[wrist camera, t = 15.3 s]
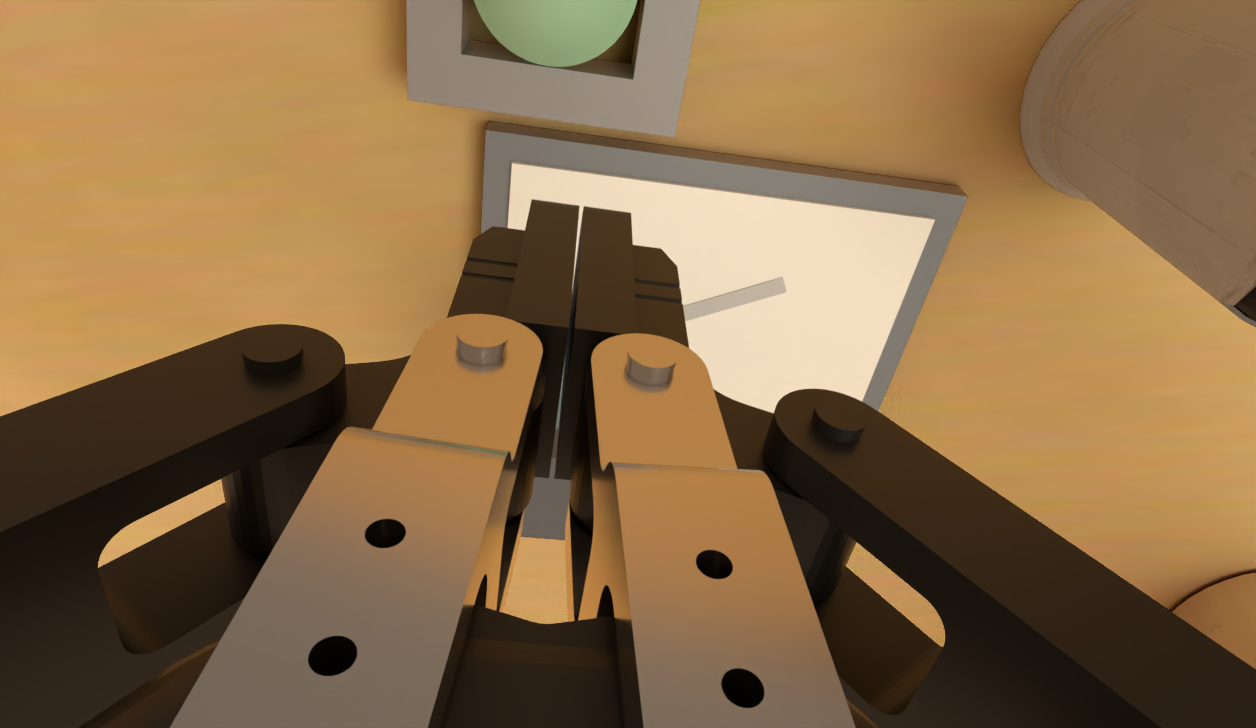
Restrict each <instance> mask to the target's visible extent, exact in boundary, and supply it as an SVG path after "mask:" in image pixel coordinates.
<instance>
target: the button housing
mask: <svg viewBox="0 0 1256 728" xmlns="http://www.w3.org/2000/svg"><path fill="white" fill-rule="evenodd" d="M699 5H700V0H641V2H640V9H639V16H638V23H637V30H636V36H635V43H634V50H633V57H632V64H629V63H622V62H615V61H609V60H602V59H595V58H593V59H591V60H589V61H587V62H584V63H581V64H578V65H573V66H566V67H552V66H544V65H540V64H536V63H533V62H530V61H527V60H525V59H523V58H521V57H519V56H517V55H516V54H514V53H513V52H511V51H510V50H508V49H507V48H506V47H505V46H503V45H501V44H495V43H488V42H481V41H475V40H469V37H470V8H471V0H406V12H407V100H412V101H419V102H426V103H433V104H440V105H447V106H455V107H462V108H469V109H476V110H483V111H490V112H497V113H505V114H512V115H519V116H526V117H533V118H540V119H547V120H554V121H562V122H569V123H576V124H583V125H590V126H597V127H604V128H612V129H619V130H626V131H633V132H640V133H647V134H654V135H662V136H669V137H675V133H676V128H677V123H678V117H679V112H680V107H681V101H682V96H683V91H684V85H685V80H686V74H687V69H688V64H689V58H690V53H691V48H692V42H693V37H694V32H695V26H696V21H697V16H698V10H699Z"/></svg>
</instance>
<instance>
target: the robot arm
mask: <svg viewBox="0 0 1256 728" xmlns="http://www.w3.org/2000/svg"><path fill="white" fill-rule="evenodd" d="M578 218H579V206H578V205H571V204H563V203H556V202H549V201H542V200H534V199H532V200H531V205H530V209H529V214H528V219H527V223H526V228H525V230H518V229H510V228H503V227H495V226H492V227H491V228H489V229H488V230H487V231H485V232H484V233H482V234H481V235H479V236H478V237H476V238H475V239H473V242H472V245H471V248H470V251H469V254H468V257H467V261H466V263H465V266H464V269H463V272H462V276H461V278H460V281H459V284H458V287H457V290H456V293H455V296H454V298H453V301H452V304H451V307H450V310H449V313H448V316H447V318H445V319H443V320H441V321H438V322H436V323H435V324H433V325H431V326H430V327H429V328H428V329H426V330H425V332H424V333H423V334H422V336H421V338H420V339H419V341H418V343H417V345H416V347H415V349H414V351H413V353H412V355H410V356H407V357H403V358H399V359H395V360H390V361H381V362H370V363H357V364H345V354H344V351H343V349H342V347H341V345H340V344H339V343H338V342H337V341H336V340H335V339H334V338H332V337H331V336H329V335H327V334H326V333H324V332H321V331H319V330H316V329H313V328H309V327H305V326H298V325H286V324H276V325H263V326H256V327H252V328H247V329H243V330H240V331H237V332H234V333H231V334H228V335H226V336H223V337H220V338H217V339H215V340H212V341H209V342H206V343H203V344H201V345H198V346H195V347H192V348H190V349H187V350H184V351H181V352H178V353H176V354H173V355H170V356H167V357H165V358H162V359H159V360H156V361H153V362H151V363H148V364H145V365H142V366H140V367H137V368H134V369H131V370H128V371H126V372H123V373H120V374H117V375H115V376H112V377H109V378H106V379H103V380H101V381H98V382H95V383H92V384H90V385H87V386H84V387H81V388H78V389H76V390H73V391H70V392H67V393H65V394H62V395H59V396H56V397H53V398H51V399H48V400H45V401H42V402H40V403H37V404H34V405H31V406H28V407H26V408H23V409H20V410H17V411H15V412H12V413H9V414H6V415H3V416H1V417H0V728H1256V573H1250V574H1245V575H1241V576H1238V577H1234V578H1231V579H1228V580H1225V581H1222V582H1220V583H1217V584H1215V585H1213V586H1210V587H1208V588H1206V589H1204V590H1202V591H1201V592H1199V593H1197V594H1195V595H1193V596H1192V597H1190V598H1189V599H1187V600H1186V601H1185V602H1183V603H1182V604H1181V605H1179V606H1178V607H1177V608H1176V609H1175V610H1174V611H1173V612H1171V611H1170V610H1168V609H1167V608H1165V607H1164V606H1162V605H1161V604H1159V603H1158V602H1156V601H1155V600H1153V599H1152V598H1151V597H1149V596H1148V595H1146V594H1145V593H1143V592H1142V591H1140V590H1139V589H1137V588H1136V587H1134V586H1133V585H1131V584H1130V583H1129V582H1127V581H1126V580H1124V579H1123V578H1121V577H1120V576H1118V575H1117V574H1115V573H1114V572H1112V571H1111V570H1109V569H1108V568H1107V567H1105V566H1104V565H1102V564H1101V563H1099V562H1098V561H1096V560H1095V559H1093V558H1092V557H1090V556H1089V555H1087V554H1086V553H1085V552H1083V551H1082V550H1080V549H1079V548H1077V547H1076V546H1074V545H1073V544H1071V543H1070V542H1068V541H1067V540H1066V539H1064V538H1063V537H1061V536H1060V535H1058V534H1057V533H1055V532H1054V531H1052V530H1051V529H1049V528H1048V527H1046V526H1045V525H1044V524H1042V523H1041V522H1039V521H1038V520H1036V519H1035V518H1033V517H1032V516H1030V515H1029V514H1027V513H1026V512H1024V511H1023V510H1022V509H1020V508H1019V507H1017V506H1016V505H1014V504H1013V503H1011V502H1010V501H1008V500H1007V499H1005V498H1004V497H1003V496H1001V495H1000V494H998V493H997V492H995V491H994V490H992V489H991V488H989V487H988V486H986V485H985V484H983V483H982V482H981V481H979V480H978V479H976V478H975V477H973V476H972V475H970V474H969V473H967V472H966V471H964V470H963V469H961V468H960V467H959V466H957V465H956V464H954V463H953V462H951V461H950V460H948V459H947V458H945V457H944V456H942V455H941V454H940V453H938V452H937V451H935V450H934V449H932V448H931V447H929V446H928V445H926V444H925V443H923V442H922V441H920V440H919V439H918V438H916V437H915V436H913V435H912V434H910V433H909V432H907V431H906V430H904V429H903V428H901V427H900V426H898V425H897V424H896V423H894V422H893V421H891V420H890V419H888V418H887V417H885V416H884V415H882V414H881V413H879V412H878V411H877V410H875V409H874V408H872V407H870V406H869V405H867V404H865V403H864V402H862V401H860V400H858V399H856V398H853V397H851V396H848V395H846V394H842V393H839V392H835V391H830V390H825V389H801V390H796V391H793V392H790V393H788V394H786V395H785V396H783V397H782V398H781V399H780V400H779V401H778V403H777V405H776V408H775V411H774V413H771V412H768V411H765V410H762V409H759V408H755V407H752V406H749V405H746V404H743V403H741V402H738V401H735V400H733V399H731V398H729V397H727V396H724V395H723V394H721V393H719V392H718V391H716V390H714V389H713V386H712V382H711V379H710V376H709V372H708V369H707V367H706V365H705V363H704V362H703V360H702V359H701V358H700V357H699V356H698V355H697V354H696V353H695V352H693V351H692V350H691V349H689V343H688V337H687V330H686V323H685V316H684V309H683V304H682V296H681V289H680V288H679V287H680V282H679V275H678V268H677V266H676V264H675V263H674V262H673V261H672V260H671V259H670V258H669V257H668V256H667V254H666V253H665V252H664V251H663V250H662V249H660V248H653V247H645V246H638V245H633V241H632V220H631V213H629V212H622V211H615V210H608V209H601V208H593V207H586V206H584V207H583V214H582V221H581V228H580V236H579V243H578V251H577V259H576V266H575V274H574V264H575V252H576V241H577V229H578ZM573 275H574V282H573ZM572 286H573V289H572ZM564 361H565V363H564ZM563 368H564V374H563ZM562 376H563V385H562V397H561V408H560V419H559V430H558V441H557V452H556V463H555V475H554V479H563V480H571V485H570V498H569V504H568V511H567V517H566V524H565V548H566V578H567V608H568V622H563V623H556V624H539V623H534V622H530V621H527V620H524V619H521V618H518V617H515V616H511V615H508V614H505V613H503V610H504V606H505V602H506V597H507V593H508V589H509V584H510V580H511V576H512V572H513V567H514V563H515V559H516V554H517V550H518V546H519V541H520V537H521V533H522V529H523V522H524V513H525V508H526V507H527V506H528V504H529V502H530V500H531V496H532V492H533V483H534V477H541V478H549V474H550V467H551V459H552V452H553V444H554V437H555V429H556V421H557V414H558V406H559V399H560V391H561V384H562ZM219 479H221V480H222V486H223V491H224V497H225V503H223V504H221V505H219V506H217V507H215V508H213V509H211V510H209V511H208V512H206V513H204V514H202V515H200V516H198V517H196V518H194V519H192V520H190V521H188V522H186V523H184V524H182V525H180V526H179V527H177V528H175V529H173V530H171V531H169V532H167V533H165V534H163V535H161V536H159V537H157V538H155V539H153V540H151V541H150V542H148V543H146V544H144V545H142V546H140V547H138V548H136V549H134V550H132V551H130V552H128V553H126V554H124V555H122V556H121V557H119V558H117V559H115V560H113V561H111V562H109V563H107V564H105V565H103V566H101V567H99V568H98V561H99V557H100V555H101V553H102V551H103V549H104V547H105V546H106V544H107V543H108V542H109V541H110V540H111V538H112V537H113V536H114V535H116V534H117V533H118V532H119V531H120V530H121V529H123V528H124V527H126V526H127V525H129V524H131V523H132V522H134V521H136V520H138V519H140V518H142V517H144V516H146V515H148V514H150V513H152V512H154V511H156V510H159V509H161V508H163V507H165V506H167V505H169V504H171V503H173V502H175V501H177V500H179V499H181V498H183V497H185V496H187V495H189V494H191V493H193V492H195V491H197V490H199V489H201V488H203V487H205V486H207V485H209V484H211V483H213V482H215V481H217V480H219ZM856 542H857V543H859V544H860V545H861V546H862V547H864V548H865V549H866V550H867V551H868V552H870V553H871V554H872V555H873V556H875V557H876V558H877V559H878V560H879V561H881V562H882V563H883V564H884V565H886V566H887V567H888V568H889V569H890V570H892V571H893V572H894V573H895V574H897V575H898V576H899V577H900V578H901V579H903V580H904V581H905V582H906V583H908V584H909V585H910V586H911V587H912V588H914V589H915V590H916V591H917V592H918V593H920V594H921V595H922V596H923V597H925V598H926V599H927V600H928V601H929V602H930V603H931V604H932V606H933V607H934V608H935V609H936V611H937V612H938V614H939V616H940V618H941V620H942V622H943V625H944V629H945V644H944V646H943V648H942V647H941V646H939V645H938V644H937V643H935V642H934V641H933V640H932V639H931V638H929V637H928V636H927V635H926V634H925V633H923V632H922V631H921V630H920V629H919V628H918V627H916V626H915V625H914V624H913V623H912V622H911V621H909V620H908V619H907V618H906V617H905V616H904V615H902V614H901V613H900V612H899V611H898V610H896V609H895V608H894V607H893V606H892V605H891V604H889V603H888V602H887V601H886V600H885V599H884V598H882V597H881V596H880V595H879V594H878V593H876V592H875V591H874V590H873V589H872V588H871V587H869V586H868V585H867V584H866V583H865V582H864V581H862V580H861V579H860V578H859V577H858V576H857V575H855V574H854V573H853V572H852V571H851V570H849V569H848V568H847V567H846V564H847V562H848V560H849V557H850V555H851V553H852V551H853V549H854V546H855V544H856Z"/></svg>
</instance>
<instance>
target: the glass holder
mask: <svg viewBox="0 0 1256 728" xmlns="http://www.w3.org/2000/svg"><path fill="white" fill-rule="evenodd" d="M1020 134H1021V139H1022V144H1023V149H1024V151H1025V153H1026V156H1027V158H1028V160H1029V162H1030V165H1031V166H1032V167H1033V169H1034V170H1035V171H1036V173H1037V174H1038V175H1039V176H1040V178H1041V179H1043V180H1044V181H1045V182H1046V183H1048V184H1049V185H1050V186H1051V187H1052V188H1054V189H1056V190H1058V191H1060V192H1062V193H1064V194H1066V195H1068V196H1071V197H1075V198H1079V199H1083V200H1087V201H1092V202H1093V203H1094V204H1096V205H1097V206H1098V207H1099V208H1101V209H1102V210H1103V211H1105V212H1106V213H1107V214H1108V215H1110V216H1111V217H1112V218H1113V219H1115V220H1116V221H1117V222H1118V223H1120V224H1121V225H1122V226H1124V227H1125V228H1126V229H1127V230H1129V231H1130V232H1131V233H1132V234H1134V235H1135V236H1136V237H1138V238H1139V239H1140V240H1141V241H1143V242H1144V243H1145V244H1146V245H1148V246H1149V247H1150V248H1151V249H1153V250H1154V251H1155V252H1157V253H1158V254H1159V255H1160V256H1162V257H1163V258H1164V259H1165V260H1167V261H1168V262H1169V263H1170V264H1172V265H1173V266H1174V267H1176V268H1177V269H1178V270H1179V271H1181V272H1182V273H1183V274H1184V275H1186V276H1187V277H1188V278H1190V279H1191V280H1192V281H1193V282H1195V283H1196V284H1197V285H1198V286H1200V287H1201V288H1202V289H1203V290H1205V291H1206V292H1207V293H1209V294H1210V295H1211V296H1212V297H1214V298H1215V299H1216V300H1217V301H1219V302H1220V303H1221V304H1223V305H1224V306H1225V307H1226V308H1228V309H1229V310H1230V311H1231V312H1233V313H1234V314H1235V315H1236V316H1238V317H1239V318H1240V319H1242V320H1243V321H1245V322H1247V323H1248V324H1250V325H1252V326H1254V327H1256V0H1082V1H1080V2H1079V3H1078V4H1077V5H1076V6H1075V7H1074V8H1073V9H1072V10H1071V11H1070V12H1069V14H1068V15H1067V16H1066V17H1065V18H1064V19H1063V20H1062V21H1061V22H1060V23H1059V24H1058V26H1057V27H1056V29H1055V30H1054V31H1053V33H1052V34H1051V36H1050V37H1049V38H1048V40H1047V41H1046V43H1045V44H1044V46H1043V47H1042V49H1041V51H1040V53H1039V55H1038V57H1037V59H1036V61H1035V62H1034V64H1033V66H1032V68H1031V71H1030V74H1029V77H1028V80H1027V82H1026V85H1025V88H1024V92H1023V97H1022V103H1021V108H1020Z"/></svg>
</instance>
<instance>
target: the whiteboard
mask: <svg viewBox="0 0 1256 728" xmlns="http://www.w3.org/2000/svg"><path fill="white" fill-rule="evenodd" d="M967 198H968V196H967V195H966V194H965V192H964V191H963V190H962V189H961V188H960V187H959V186H954V185H946V184H939V183H932V182H925V181H918V180H910V179H903V178H896V177H889V176H882V175H874V174H867V173H860V172H853V171H846V170H838V169H831V168H824V167H817V166H809V165H802V164H795V163H788V162H781V161H773V160H766V159H759V158H752V157H745V156H737V155H730V154H723V153H716V152H709V151H701V150H694V149H687V148H680V147H673V146H665V145H658V144H651V143H644V142H637V141H629V140H622V139H615V138H608V137H601V136H593V135H586V134H579V133H572V132H564V131H557V130H550V129H543V128H536V127H528V126H521V125H514V124H507V123H500V122H492V121H489V123H488V125H487V128H486V136H485V156H484V177H483V198H482V219H481V234H482V233H484V232H485V231H487V230H488V229H489V228H491V227H492V226H495V227H503V228H510V229H518V230H525V228H526V223H527V219H528V214H529V209H530V205H531V200H532V199H534V200H542V201H549V202H556V203H563V204H571V205H578V206H579V218H578V229H577V241H576V252H575V264H574V274H575V266H576V259H577V251H578V243H579V236H580V228H581V221H582V214H583V207H584V206H586V207H593V208H601V209H608V210H615V211H622V212H629V213H631V220H632V241H633V245H638V246H645V247H653V248H660V249H662V250H663V251H664V252H665V253H666V254H667V256H668V257H669V258H670V259H671V260H672V261H673V262H674V263H675V264H676V266H677V268H678V275H679V282H680V287H679V288H680V289H681V296H682V304H683V309H684V316H685V323H686V330H687V337H688V343H689V349H691V350H692V351H693V352H695V353H696V354H697V355H698V356H699V357H700V358H701V359H702V360H703V362H704V363H705V365H706V367H707V369H708V372H709V376H710V379H711V382H712V386H713V389H714V390H716V391H718V392H719V393H721V394H723V395H724V396H727V397H729V398H731V399H733V400H735V401H738V402H741V403H743V404H746V405H749V406H752V407H755V408H759V409H762V410H765V411H768V412H771V413H774V411H775V408H776V405H777V403H778V401H779V400H780V399H781V398H782V397H783V396H785V395H786V394H788V393H790V392H793V391H796V390H801V389H825V390H830V391H835V392H839V393H842V394H846V395H848V396H851V397H853V398H856V399H858V400H860V401H862V402H864V403H865V404H867V405H869V406H870V407H872V408H874V409H875V410H877V411H878V410H879V408H880V405H881V403H882V401H883V398H884V396H885V394H886V391H887V389H888V386H889V384H890V382H891V379H892V377H893V375H894V372H895V370H896V367H897V365H898V363H899V360H900V358H901V356H902V353H903V351H904V348H905V346H906V344H907V341H908V339H909V336H910V334H911V332H912V329H913V327H914V325H915V322H916V320H917V317H918V315H919V313H920V310H921V308H922V306H923V303H924V301H925V298H926V296H927V294H928V291H929V289H930V286H931V284H932V282H933V279H934V277H935V275H936V272H937V270H938V267H939V265H940V263H941V260H942V258H943V256H944V253H945V251H946V248H947V246H948V244H949V241H950V239H951V236H952V234H953V232H954V229H955V227H956V225H957V222H958V220H959V217H960V215H961V213H962V210H963V208H964V206H965V203H966V201H967ZM573 282H574V275H573ZM572 289H573V286H572Z"/></svg>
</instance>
